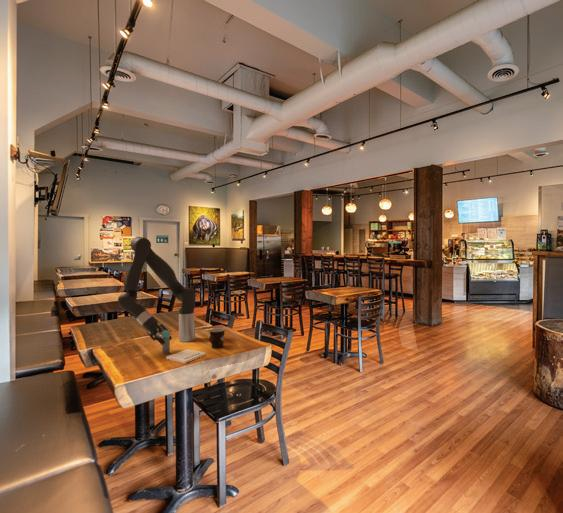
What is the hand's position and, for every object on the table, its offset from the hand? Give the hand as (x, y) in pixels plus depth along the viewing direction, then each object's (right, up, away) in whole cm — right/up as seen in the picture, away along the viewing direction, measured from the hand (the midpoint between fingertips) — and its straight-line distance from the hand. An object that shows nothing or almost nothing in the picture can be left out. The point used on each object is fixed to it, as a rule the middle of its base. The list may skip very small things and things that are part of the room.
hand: (167, 341), depth 180 cm
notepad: (+13, -7, -7) cm, 16 cm away
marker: (-1, -7, 0) cm, 7 cm away
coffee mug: (+25, -6, +9) cm, 27 cm away
